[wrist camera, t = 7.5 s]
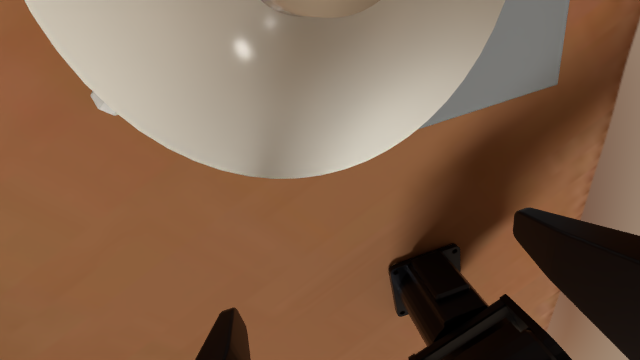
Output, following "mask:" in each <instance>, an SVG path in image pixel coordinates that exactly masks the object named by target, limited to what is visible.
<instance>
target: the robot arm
mask: <svg viewBox="0 0 640 360" xmlns="http://www.w3.org/2000/svg"><path fill="white" fill-rule="evenodd" d="M513 234H514V236H515V238H516V240H517V241H518V242H519V243H520V245H521V246H522V247H523V248H524V249H525V251H526V252H527V253H528V254H529V255H530V257H531V258H532V259H533V260H534V261H535V263H536V264H537V265H538V266H539V268H540V269H541V270H542V271H543V272H544V274H545V275H546V276H547V277H548V278H549V279H550V280H551V281H552V282H553V283H554V284H555V285H556V286H557V287H558V288H559V289H560V290H561V291H562V292H563V293H564V294H565V295H566V296H567V297H568V298H569V299H570V300H571V301H572V302H573V303H574V305H576V307H578V309H579V310H580V311H581V312H583V314H584V315H585V316H587V318H589V320H590V321H591V322H592V323H593V324H595V326H596V327H598V328H599V330H600V331H602V333H603V334H604V335H605V336H607V338H608V339H610V341H611V342H612V343H613V344H615V346H616V347H617V348H618V349H619V350H620V351H621V352H622V353H623V354H624V355H625V356H626V357H627V358H628V359H629V360H640V236H638V235H634V234H630V233H627V232H623V231H619V230H615V229H611V228H607V227H603V226H599V225H596V224H592V223H588V222H584V221H580V220H576V219H572V218H569V217H565V216H561V215H557V214H553V213H549V212H545V211H542V210H538V209H534V208H524V209H521V210H519V211H516V213H515V215H514V225H513ZM395 270H396V271H395ZM389 276H390V282H391V287H392V293H393V298H394V304H395V310H396V313H397V314H398V316H400V317H401V316H405V315H407V314H409V315H410V317H411V319H412V321H413V322H414V324H415V326H416V328H417V329H418V331H419V333H420V335H421V336H422V338H423V340H424V342H425V344H426V345H427V347H426V348H424V349H423V350H421V351H420V352H418V353H417V354H413V355H411V356H410V357H408V358H409V360H572V359H571V358H570V357H569V356H568V355H567V353H566V352H565V351H564V350H563V349H562V348H561V347H560V346H559V345H558V344H557V342H555V340H554V339H553V338H552V337H551V336H550V335H549V334H548V333H547V332H546V331H545V330H544V329H543V328H541V327H540V326H539V325H538V324H537V323H536V322H535V321H534V320H533V319H532V318H531V317H530V316H529V315H528V314H527V313H526V312H524V311H523V310H522V309H521V308H520V307H519V306H518V305H517V304H516V303H515V302H514V301H513V300H512V299H511V298H510V297H509V296H507V295H506V294H504V295H503V296H501V297H500V299H499V300H498V301H496V302H495V303H493V304H492V305H490V306H488V304H487V303H486V302H485V301H484V300H483V299H482V297H481V296H480V295H479V294H478V293H477V292H476V290H475V289H474V288H473V287H472V286H471V285H470V283H469V282H468V281H467V280H466V279H465V278H464V276H463V275H462V274H461V273H460V248H459V247H458V246H457V245H456V244H451V245H448V246H446V247H443V248H440V249H437V250H434V251H432V252H429V253H426V254H423V255H420V256H418V257H415V258H412V259H409V260H406V261H403V262H401V263H398V264H395V265H393V266H391V267H390V268H389ZM195 360H251V359H250V351H249V343H248V334H247V329H246V326H245V323H244V321H243V320H242V318H241V316H240V314H239V312H238V310H237V309H236V308H230V309H227V310H224V311H222V312H221V313H220V314H219V316H218V318H217V320H216V322H215V324H214V326H213V327H212V329H211V331H210V333H209V335H208V337H207V339H206V340H205V342H204V344H203V346H202V348H201V350H200V352H199V353H198V355H197V357H196V359H195Z"/></svg>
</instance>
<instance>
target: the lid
mask: <svg viewBox="0 0 640 360" xmlns="http://www.w3.org/2000/svg"><path fill="white" fill-rule="evenodd" d="M24 1H25V2H26V4H27V6H28V8H29V10H30V12H31V13H32V15H33V16H34V18H35V19H36V21H37V22H38V24H39V25H40V27H41V28H42V30H43V31H44V33H45V34H46V35H47V37H48V38H49V40H50V41H51V43H52V44H53V46H54V47H55V49H56V50H57V51H58V53H59V54H60V55H61V56H62V57H63V59H64V60H65V61H66V62H67V63H68V64H69V66H70V67H71V68H72V69H73V70H74V72H75V73H76V74H77V75H78V76H79V77H80V79H81V80H82V81H83V82H84V83H85V84H86V85H87V86H88V87H89V88H90V89H91V90H92V91H93V92H94V93H95V94H96V95H97V96H98V97H99V98H100V99H101V100H102V101H104V102H105V103H106V104H107V105H108V106H109V107H110V108H111V109H112V110H113V111H114V112H116V113H117V114H118V115H120V116H121V117H122V118H124V119H125V120H126V121H127V122H129V123H130V124H131V125H133V126H134V127H135V128H136V129H138V130H139V131H140V132H142V133H144V134H145V135H147V136H149V137H150V138H152V139H153V140H155V141H157V142H158V143H160V144H162V145H163V146H165V147H166V148H168V149H170V150H173V151H175V152H177V153H179V154H181V155H183V156H185V157H187V158H189V159H191V160H194V161H196V162H199V163H202V164H205V165H208V166H211V167H213V168H216V169H219V170H223V171H227V172H232V173H236V174H241V175H245V176H252V177H262V178H272V179H283V178H304V177H311V176H319V175H324V174H328V173H332V172H336V171H340V170H344V169H347V168H350V167H352V166H355V165H357V164H360V163H363V162H365V161H368V160H370V159H372V158H374V157H376V156H377V155H379V154H381V153H383V152H385V151H387V150H389V149H390V148H392V147H394V146H395V145H397V144H398V143H400V142H401V141H403V140H404V139H406V138H407V137H409V136H410V135H411V134H412V133H413V132H415V131H416V130H417V129H418V128H419V127H421V126H422V125H423V124H424V123H425V122H427V121H428V120H429V119H430V118H431V117H432V116H433V115H434V114H435V113H436V112H437V111H438V110H439V109H440V108H441V107H442V106H443V105H444V104H445V103H446V102H447V100H448V99H449V98H450V97H451V95H452V94H453V93H454V92H455V90H456V89H457V88H458V87H459V85H460V84H461V83H462V82H463V80H464V79H465V77H466V76H467V74H468V73H469V71H470V70H471V68H472V67H473V65H474V63H475V62H476V60H477V59H478V57H479V56H480V54H481V52H482V50H483V48H484V46H485V44H486V42H487V40H488V39H489V37H490V35H491V33H492V31H493V29H494V27H495V24H496V22H497V19H498V17H499V15H500V12H501V10H502V7H503V5H504V2H505V0H24Z"/></svg>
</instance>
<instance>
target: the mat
mask: <svg viewBox="0 0 640 360" xmlns="http://www.w3.org/2000/svg"><path fill="white" fill-rule="evenodd" d="M569 1H570V0H505V2H504V5H503V7H502V10H501V12H500V15H499V17H498V19H497V22H496V24H495V27H494V29H493V31H492V33H491V35H490V37H489V39H488V40H487V42H486V44H485V46H484V48H483V50H482V52H481V54H480V56H479V57H478V59H477V60H476V62H475V63H474V65H473V67H472V68H471V70H470V71H469V73H468V74H467V76H466V77H465V79H464V80H463V82H462V83H461V84H460V85H459V87H458V88H457V89H456V90H455V92H454V93H453V94H452V95H451V97H450V98H449V99H448V100H447V102H446V103H445V104H444V105H443V106H442V107H441V108H440V109H439V110H438V111H437V112H436V113H435V114H434V115H433V116H432V117H431V118H430V119H429V120H428V121H427V122H425V123H424V124H423V125H422V126H421V127H419V128H418V129H420V128H423V127H427V126H430V125H433V124H436V123H439V122H442V121H445V120H448V119H451V118H455V117H458V116H461V115H464V114H467V113H470V112H473V111H476V110H479V109H482V108H486V107H489V106H492V105H495V104H498V103H501V102H504V101H507V100H510V99H513V98H517V97H520V96H523V95H526V94H529V93H532V92H535V91H538V90H541V89H544V88H548V87H551V86H554V85H557V84H558V77H559V70H560V63H561V56H562V49H563V42H564V35H565V28H566V21H567V14H568V8H569Z"/></svg>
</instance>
